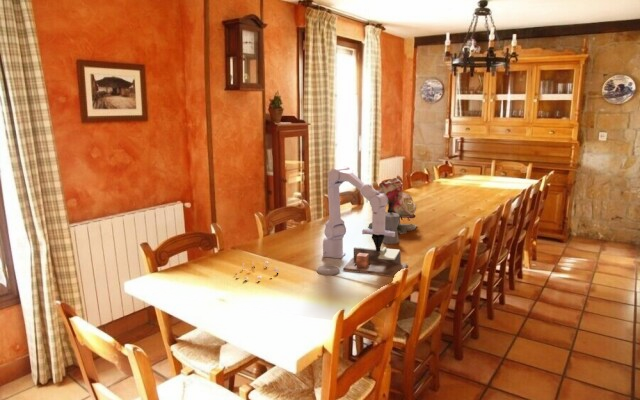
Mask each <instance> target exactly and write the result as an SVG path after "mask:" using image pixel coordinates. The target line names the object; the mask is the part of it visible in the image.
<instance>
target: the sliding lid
mask: <svg viewBox="0 0 640 400" xmlns="http://www.w3.org/2000/svg"><path fill="white" fill-rule="evenodd" d="M380 250H381V251H380V255H379V257H378V259H387V260H395V258H396V257H397V255H398V254H399V252H401V249H396V248H387V246H383V248H382V249H380Z"/></svg>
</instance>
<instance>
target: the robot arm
mask: <svg viewBox="0 0 640 400" xmlns="http://www.w3.org/2000/svg"><path fill="white" fill-rule="evenodd" d="M353 171H354V170H353V169H352V168H350V167H349V166H344V167H336V168H334V167H333V168H331V169H330V170H329V171H328V172H327V177H328V179H327V198H328V199H327V200H328V215H329V219H328V220H327V221H326V223H325V228H324V236H325V237H323V241H322V257H324V258H332V259H333V258H334V259H342V258H343V257H344V255H346V252H343V251H344V246H343V245H344V242H343V241H344V240H343V239H344V236H345V235H346V233H347V228H346V227H347V226H346V224H345V221H344V220H343V219H342V218H341V215H342V214H341V198H340V186H342V184H343V183H345V182H348V183H349V184H351V185H352V186H353V187H355V188H356V189H358V190H359V193H360V195H361V196H362V197H363V198H365V199H366V200H367V201H368V202H369V204H370V207H371V212H372V214H371V215H372V217H371V218H372V220H371V221H372V222H371V223H372V229H369V228H363V229H362V230H361V234H362V235H371V240H372V241H373V243H374V246H375V249H376V251H380V250H382V249H381V247H382V244H383V239H384V237H385V236H392V237H395V232H393V231H387V230H385V212H386V206H388V197H387V196H386V195H385V194H383V193H382V194H381V193H379V192H378V191H376V190H377V189H375V188H374V187H373V185H372V184H371V183H366V184H365V183H364V182H363V180H361V179H360V177H358V176H357V175H356V174H355V173H354V172H353Z"/></svg>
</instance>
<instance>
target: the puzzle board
mask: <svg viewBox="0 0 640 400" xmlns="http://www.w3.org/2000/svg"><path fill="white" fill-rule="evenodd" d="M381 250H382V249H380V251H381ZM380 251H376V248H375V249H374V248H365V247H353V257H352V258H351V259H350V260H349V261H348V262H347V263H346V264H345V265H344V267H342V268H343V272H344V271H346V272H353V273H361V274H371V275H378V276H379V275H381V276H388V277H390V276H391V277H395V276H394V275H395V274H396V273H397V272H398V271H400V270H401V269H404V268H406V269H407V267H408V262H401V261H402V260H401V259H402V257H401V256H402V252H401V251H400V252H399V254H398V255H397V257H396V258H395V260H387V259H378V257H379V255H380ZM359 253H367V254H369V266H368V268H366V267H357V255H358V254H359Z"/></svg>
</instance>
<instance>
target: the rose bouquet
mask: <svg viewBox="0 0 640 400" xmlns="http://www.w3.org/2000/svg"><path fill="white" fill-rule="evenodd" d="M402 186H403V182H402V181H401V180H400V179H399V178H398V177H393V178H392V179H389V180H387V181H384V180H383V182H381V183H379V187H380V188H378V189H375V190H376V191H378V192H379V193H381V194H382V193H383V194H385V195H386V196H387V197H388V204H387V206H388V207H387V213H390V211H389V210H390V209H392V213H397V214H399V215H400V219H399V223H398V227H397V231H398V234H399V235H403V234H408V232H407V231H409V232H410V231H413V230H415V229H416V228H417V226H418V225H417V224H413V223H409V224H406V223H405V224H404V223H401V220H402V221H404V219H407V221H411V219H415V218H416V214H415V213H416V211H417V210H416V209H417V203H414V201H413V197H412V196H411V194H409V193H405V192H403V188H402ZM367 229H372V222H371V223H368V226H367Z"/></svg>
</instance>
